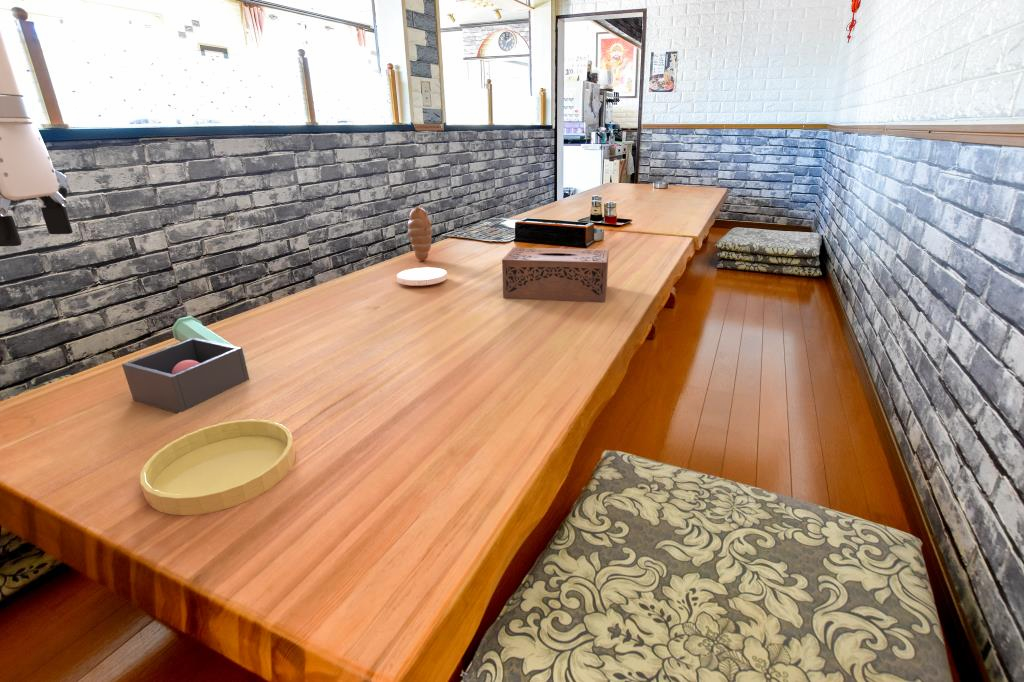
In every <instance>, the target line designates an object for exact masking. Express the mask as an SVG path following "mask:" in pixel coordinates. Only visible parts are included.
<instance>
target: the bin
mask: <svg viewBox="0 0 1024 682" xmlns="http://www.w3.org/2000/svg"><path fill="white" fill-rule="evenodd" d="M243 352H244V350H243V347H241V346H235V345H234V346H231V345H227V344H222V343H217V342H212V341H208V340H203V339H198V338H191V339H188V340H186V341H183V342H181V341H179V342H178V343H174V344H172V345H169V346H167V347H164V348H161V349H159V350H156V351H154V352H151V353H148V354H145V355H142V356H140V357H136V358H134V359H132V360H129V361H126V362H123V363H121V366H122V369H123V372H124V376H125V379H126V381H127V385H128V388H129V391H130V394H131V396H132V400H133V401H135V402H138V403H142V404H145V405H148V406H151V407H155V408H158V409H161V410H165V411H167V412H170V413H175V414H179V413H183V412H185V411H187V410H189V409H192V408H194V407H196V406H198V405H199V404H203V403H204V402H206V401H209V400H210V399H213V398H214V397H216V396H219V395H220V394H223V393H225V392H227V391H228V390H231V389H232V388H235V387H236V386H239V385H241V384H243V383H245V382H247V381H250V376H249V371H248V367H247V362H246V363H245V359H246V357H245V358H244V355H245V353H244V354H243ZM185 360H194V361H197V362H199V363H200V364H198V365H195V366H193V367H190V368H188V369H186V370H183V371H181V372H178V373H176V374H174V375H172V370H173V368H174V367H175V366H176V365H177V364H178V363H180V362H182V361H185Z"/></svg>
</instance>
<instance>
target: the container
mask: <svg viewBox="0 0 1024 682" xmlns="http://www.w3.org/2000/svg"><path fill="white" fill-rule="evenodd" d="M171 331H172V334H173V335H172V336H173V338H174V340H177V341H179V342H183V341H186V340H188V339H191V338H198V339H203V340H208V341H212V342H217V343H222V344H227V345H231V346H235V345H234V344H232V343H231V342H229V341H227V340H226V339H225V338H223V337H222V336H220V335H218V334H216V333H215V332H214V331H212V330H211V329H209V328H207V326H205V325H203V323H202V321H201V320H199V319H197V318H195V317H193V316H191V315H187V316H184V317H180V318H177V319H176V321H175V322H174V324H173V325H172V327H171ZM243 354H244V358H245V363H246V364H247V359H246V356H245V352H244V351H243Z"/></svg>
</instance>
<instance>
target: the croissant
mask: <svg viewBox="0 0 1024 682" xmlns="http://www.w3.org/2000/svg"><path fill="white" fill-rule="evenodd" d="M407 228H408V229H407V235H408V237H409V242H410V244H411V249H412V251H413V252H414V256H415V258H416V259H417V260H418V261H420V262H424V261H426V260H428V257H429V252H430V251H431V248H432V245H431V244H432V235H433V229H432V221H431V219H430V217H429V213H428V211H426V209H424V208H423V206H422V204H420V205H419V206H416V207H414V208H412V209H411V210H410V212H409V220H408V221H407Z"/></svg>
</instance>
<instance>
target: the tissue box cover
mask: <svg viewBox="0 0 1024 682" xmlns="http://www.w3.org/2000/svg"><path fill="white" fill-rule="evenodd" d="M609 254H610V250H609V249H606V248H605V249H601V248H597V249H596V248H559V247H558V248H557V247H519V246H517V247H516V246H515V247H513V246H512V248H511V250H509V251H508V252H507V253H506V255H505V256H504V257H503V258H502V259H501V262H502V263H501V266H502V267H501V268H502V270H501V271H502V298H503V299H517V300H518V299H519V300H541V301H566V302H586V303H587V302H588V303H589V302H591V303H592V302H593V303H606V297H607V288H608V273H609Z"/></svg>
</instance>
